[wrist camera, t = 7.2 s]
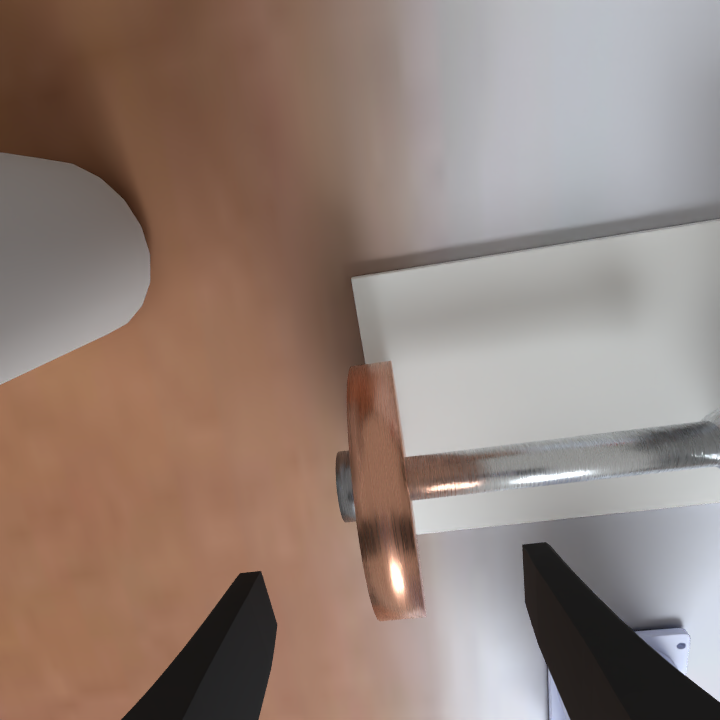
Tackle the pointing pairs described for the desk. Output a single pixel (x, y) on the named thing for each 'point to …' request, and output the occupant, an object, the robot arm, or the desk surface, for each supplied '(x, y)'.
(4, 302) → the can
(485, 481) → the bolt with copper washer
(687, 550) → the desk surface
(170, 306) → the desk surface
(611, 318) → the base board
